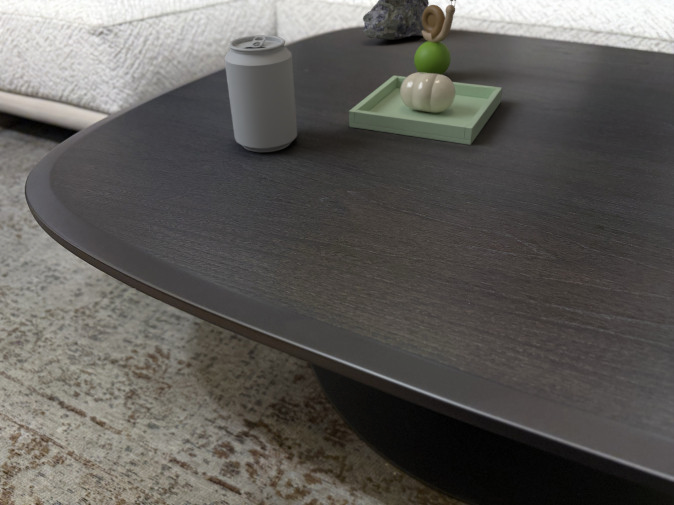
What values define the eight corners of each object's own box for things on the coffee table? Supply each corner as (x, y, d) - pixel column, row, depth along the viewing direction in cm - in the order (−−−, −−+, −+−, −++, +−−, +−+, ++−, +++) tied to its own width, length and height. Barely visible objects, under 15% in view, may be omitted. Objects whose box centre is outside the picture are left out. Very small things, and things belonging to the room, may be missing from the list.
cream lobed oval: (459, 105, 79) (461, 70, 76) (448, 121, 76) (450, 85, 73) (407, 98, 82) (407, 64, 79) (394, 114, 78) (394, 79, 75)
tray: (500, 102, 82) (502, 87, 81) (470, 145, 70) (472, 128, 69) (393, 89, 88) (393, 75, 87) (349, 126, 76) (348, 110, 75)
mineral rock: (363, 46, 108) (363, -14, 103) (360, 32, 117) (359, -24, 112) (435, 44, 108) (438, -17, 103) (426, 29, 117) (429, -27, 112)
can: (228, 154, 70) (213, 49, 63) (244, 129, 76) (233, 31, 70) (291, 156, 69) (282, 49, 62) (303, 131, 75) (296, 32, 69)
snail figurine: (435, 86, 88) (440, -1, 82) (406, 76, 93) (409, -7, 86) (461, 79, 91) (468, -6, 84) (431, 69, 95) (436, -12, 89)
